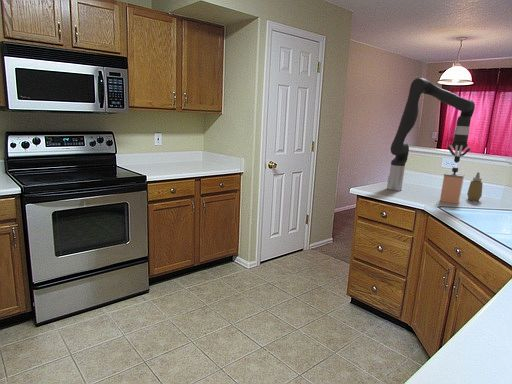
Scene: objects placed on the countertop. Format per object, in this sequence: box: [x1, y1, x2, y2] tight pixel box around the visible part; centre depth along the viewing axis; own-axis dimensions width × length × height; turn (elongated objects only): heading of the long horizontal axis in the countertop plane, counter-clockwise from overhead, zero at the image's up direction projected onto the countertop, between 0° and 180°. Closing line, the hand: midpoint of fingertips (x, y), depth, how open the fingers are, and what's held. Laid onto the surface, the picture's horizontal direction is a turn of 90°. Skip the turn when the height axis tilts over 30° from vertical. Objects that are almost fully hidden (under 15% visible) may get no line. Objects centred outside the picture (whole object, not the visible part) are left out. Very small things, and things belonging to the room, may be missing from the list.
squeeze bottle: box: [466, 172, 483, 202], centre depth 234 cm, size 8×8×18 cm
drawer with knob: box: [443, 166, 465, 178], centre depth 227 cm, size 10×10×20 cm
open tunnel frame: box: [439, 174, 465, 205], centre depth 228 cm, size 10×10×16 cm
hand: (456, 162), depth 224 cm, fingers closed
